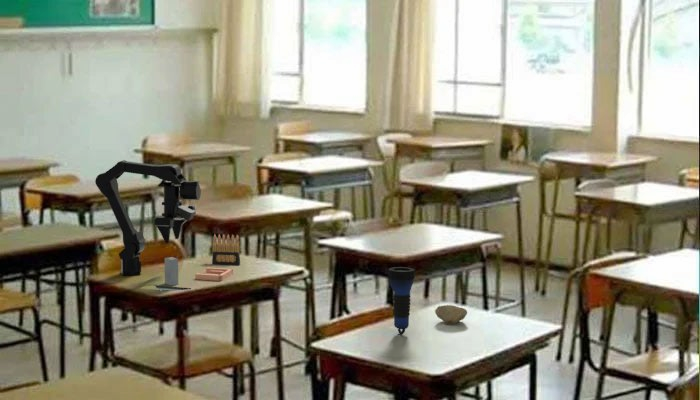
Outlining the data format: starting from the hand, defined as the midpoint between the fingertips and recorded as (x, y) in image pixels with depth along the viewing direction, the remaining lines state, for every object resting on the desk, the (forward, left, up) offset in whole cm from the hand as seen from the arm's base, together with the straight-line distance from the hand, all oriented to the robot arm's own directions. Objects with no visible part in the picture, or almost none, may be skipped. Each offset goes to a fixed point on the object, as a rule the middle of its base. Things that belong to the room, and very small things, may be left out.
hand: (172, 241), depth 426 cm
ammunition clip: (+24, +14, -13) cm, 31 cm away
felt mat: (-4, -19, -13) cm, 23 cm away
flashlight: (+48, -101, -13) cm, 113 cm away
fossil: (+68, -94, -13) cm, 117 cm away
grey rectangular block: (-4, -18, -13) cm, 23 cm away
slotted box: (+13, -11, -13) cm, 21 cm away
